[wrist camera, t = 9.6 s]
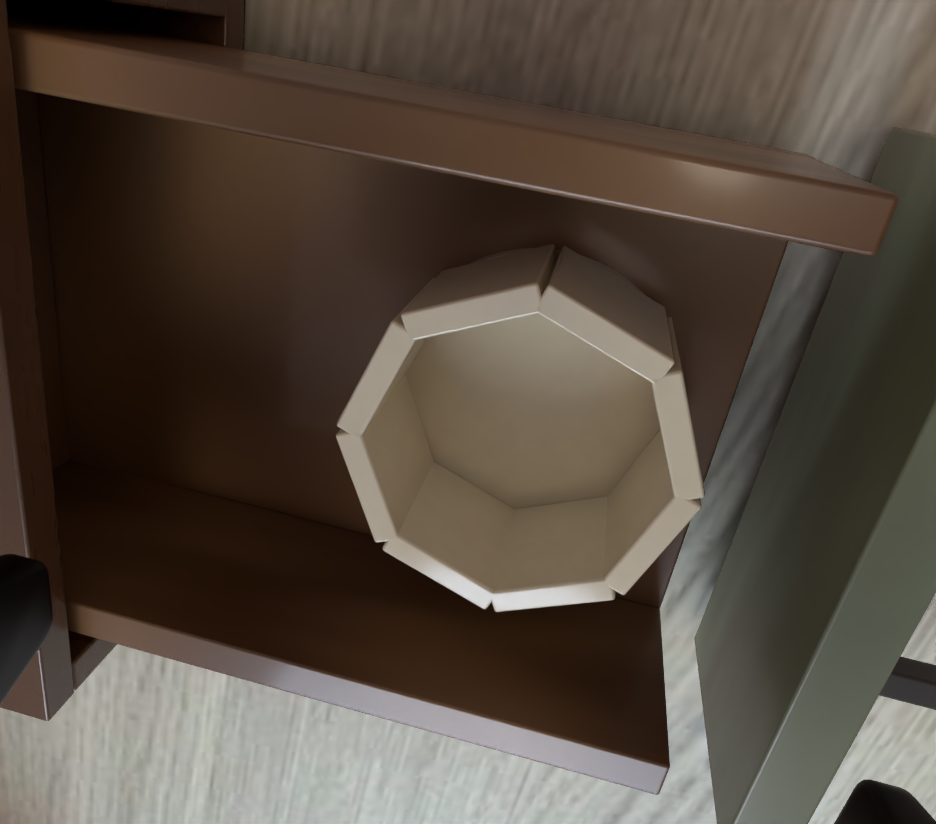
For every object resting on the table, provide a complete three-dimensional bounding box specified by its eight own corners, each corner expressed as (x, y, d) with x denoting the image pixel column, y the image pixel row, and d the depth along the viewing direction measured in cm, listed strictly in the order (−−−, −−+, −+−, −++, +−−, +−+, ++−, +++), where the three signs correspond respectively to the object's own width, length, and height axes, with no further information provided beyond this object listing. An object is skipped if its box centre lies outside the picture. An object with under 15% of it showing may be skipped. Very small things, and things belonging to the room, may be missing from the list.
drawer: (1253, 191, 13) (1674, 269, 8) (943, 702, 18) (1068, 949, 13) (30, -28, 15) (-272, -80, 10) (74, 480, 21) (-111, 614, 16)
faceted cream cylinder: (744, 349, 15) (777, 424, 12) (578, 554, 17) (568, 660, 14) (484, 189, 14) (444, 219, 11) (356, 422, 17) (294, 500, 14)
